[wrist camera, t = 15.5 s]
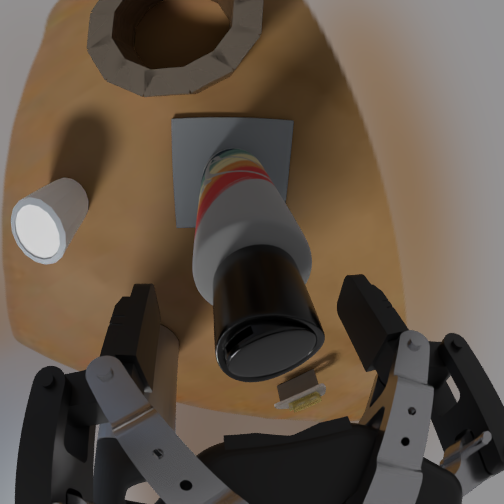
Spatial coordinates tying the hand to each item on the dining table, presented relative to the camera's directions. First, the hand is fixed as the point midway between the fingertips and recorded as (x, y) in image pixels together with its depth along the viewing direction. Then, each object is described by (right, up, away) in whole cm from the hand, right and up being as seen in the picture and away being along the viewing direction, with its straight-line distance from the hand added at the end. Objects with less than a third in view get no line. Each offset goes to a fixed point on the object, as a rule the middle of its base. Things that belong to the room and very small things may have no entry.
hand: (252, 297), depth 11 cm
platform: (+8, -22, +37) cm, 44 cm away
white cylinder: (-20, +7, +13) cm, 25 cm away
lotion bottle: (-2, +9, +14) cm, 17 cm away
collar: (-6, +21, +6) cm, 23 cm away
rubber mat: (-2, +9, +14) cm, 17 cm away
